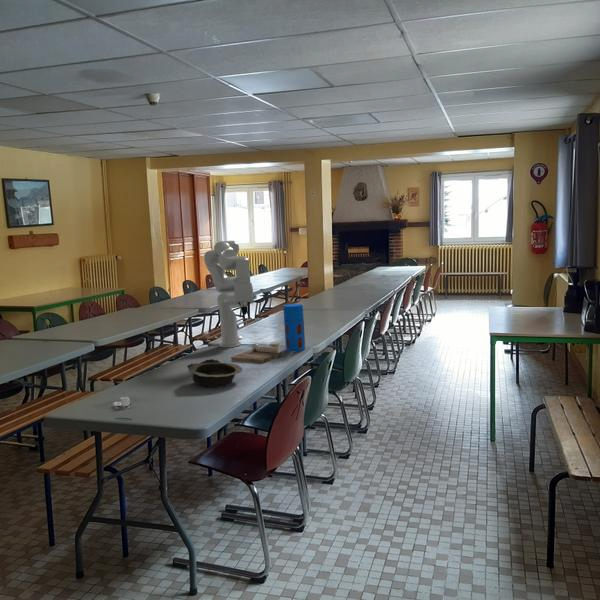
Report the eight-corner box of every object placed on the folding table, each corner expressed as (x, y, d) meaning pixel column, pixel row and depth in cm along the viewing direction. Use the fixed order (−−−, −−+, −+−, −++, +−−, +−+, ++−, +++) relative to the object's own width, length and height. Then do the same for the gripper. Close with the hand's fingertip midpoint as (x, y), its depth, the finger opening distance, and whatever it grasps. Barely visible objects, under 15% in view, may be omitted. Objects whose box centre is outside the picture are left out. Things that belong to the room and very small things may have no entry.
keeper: (271, 350, 321) (271, 343, 320) (279, 351, 318) (279, 343, 318) (269, 351, 319) (269, 344, 318) (277, 351, 316) (277, 344, 316)
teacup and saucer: (110, 407, 240) (109, 398, 239) (128, 403, 245) (127, 393, 245) (120, 412, 234) (119, 402, 233) (138, 407, 239) (138, 397, 238)
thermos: (306, 347, 334) (303, 303, 331) (304, 351, 324) (301, 306, 321) (287, 347, 336) (284, 304, 332) (284, 351, 325) (282, 306, 322)
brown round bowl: (182, 380, 275) (182, 360, 274) (234, 376, 284) (234, 357, 283) (192, 392, 252) (192, 371, 251) (249, 388, 261) (249, 367, 260)
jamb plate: (253, 352, 327) (253, 349, 327) (283, 355, 317) (283, 351, 317) (231, 360, 310) (231, 357, 310) (263, 363, 300) (262, 359, 300)
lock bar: (251, 351, 321) (251, 344, 320) (255, 349, 324) (255, 343, 323) (277, 353, 311) (277, 346, 311) (281, 352, 314) (281, 345, 314)
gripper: (228, 281, 317) (230, 315, 320) (255, 281, 316) (257, 315, 319) (231, 279, 324) (232, 312, 328) (258, 279, 323) (259, 312, 326)
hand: (244, 313), depth 323 cm, fingers closed
